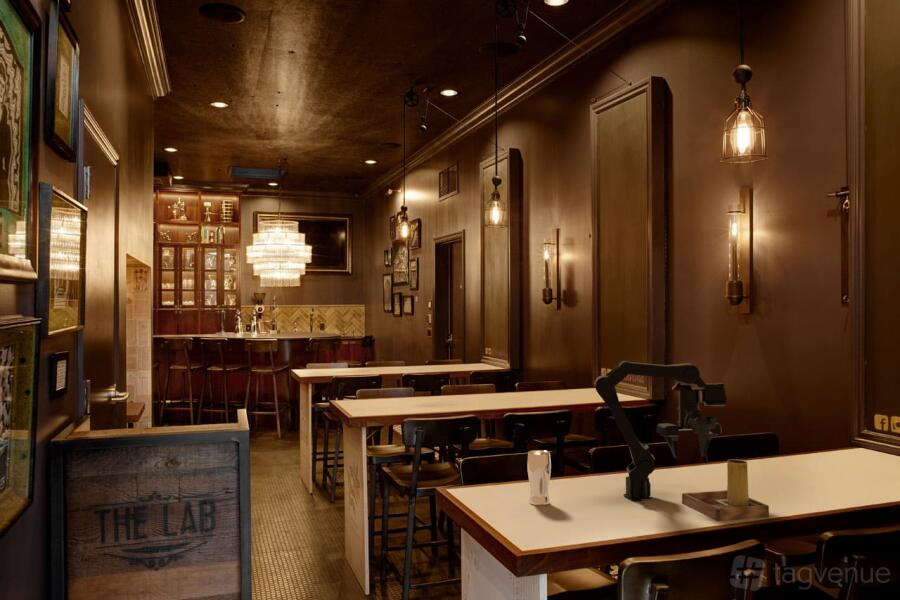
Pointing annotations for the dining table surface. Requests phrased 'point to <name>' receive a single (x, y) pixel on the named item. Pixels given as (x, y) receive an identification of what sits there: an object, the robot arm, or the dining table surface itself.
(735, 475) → the vase
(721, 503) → the holder plate
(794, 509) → the dining table surface
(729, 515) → the tray
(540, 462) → the beer glass
